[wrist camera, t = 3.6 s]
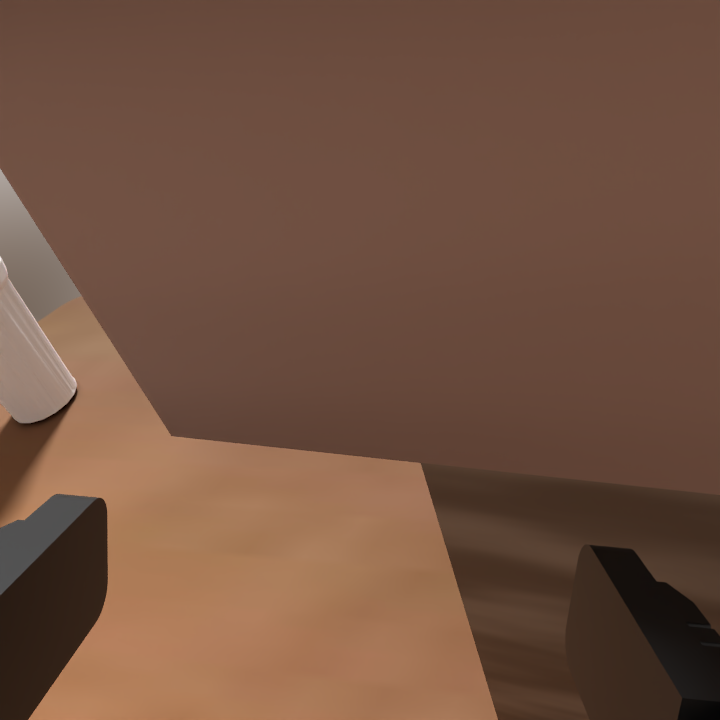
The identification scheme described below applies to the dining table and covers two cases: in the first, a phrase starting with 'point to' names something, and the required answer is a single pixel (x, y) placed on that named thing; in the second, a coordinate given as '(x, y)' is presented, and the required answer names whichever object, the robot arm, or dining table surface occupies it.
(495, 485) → the walnut pillar
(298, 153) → the wooden block
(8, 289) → the cup
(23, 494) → the dining table surface
